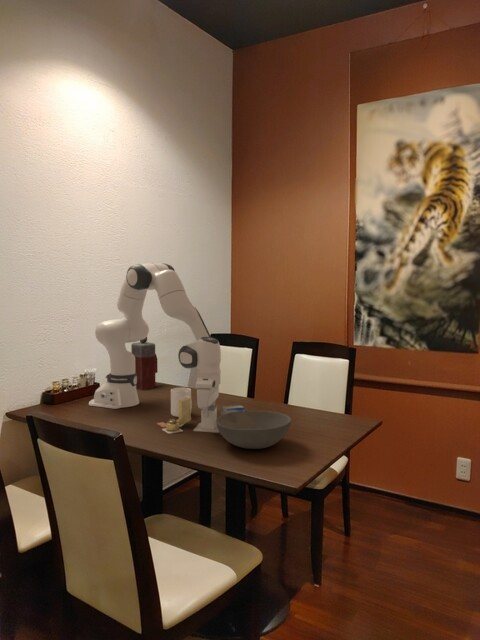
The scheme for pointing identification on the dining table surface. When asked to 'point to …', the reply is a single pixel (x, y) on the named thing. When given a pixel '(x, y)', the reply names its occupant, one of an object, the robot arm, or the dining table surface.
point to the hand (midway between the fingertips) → (208, 414)
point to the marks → (169, 431)
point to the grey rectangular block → (209, 418)
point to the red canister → (145, 364)
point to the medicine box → (232, 409)
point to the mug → (176, 396)
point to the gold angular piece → (180, 415)
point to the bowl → (253, 428)
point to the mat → (198, 428)
